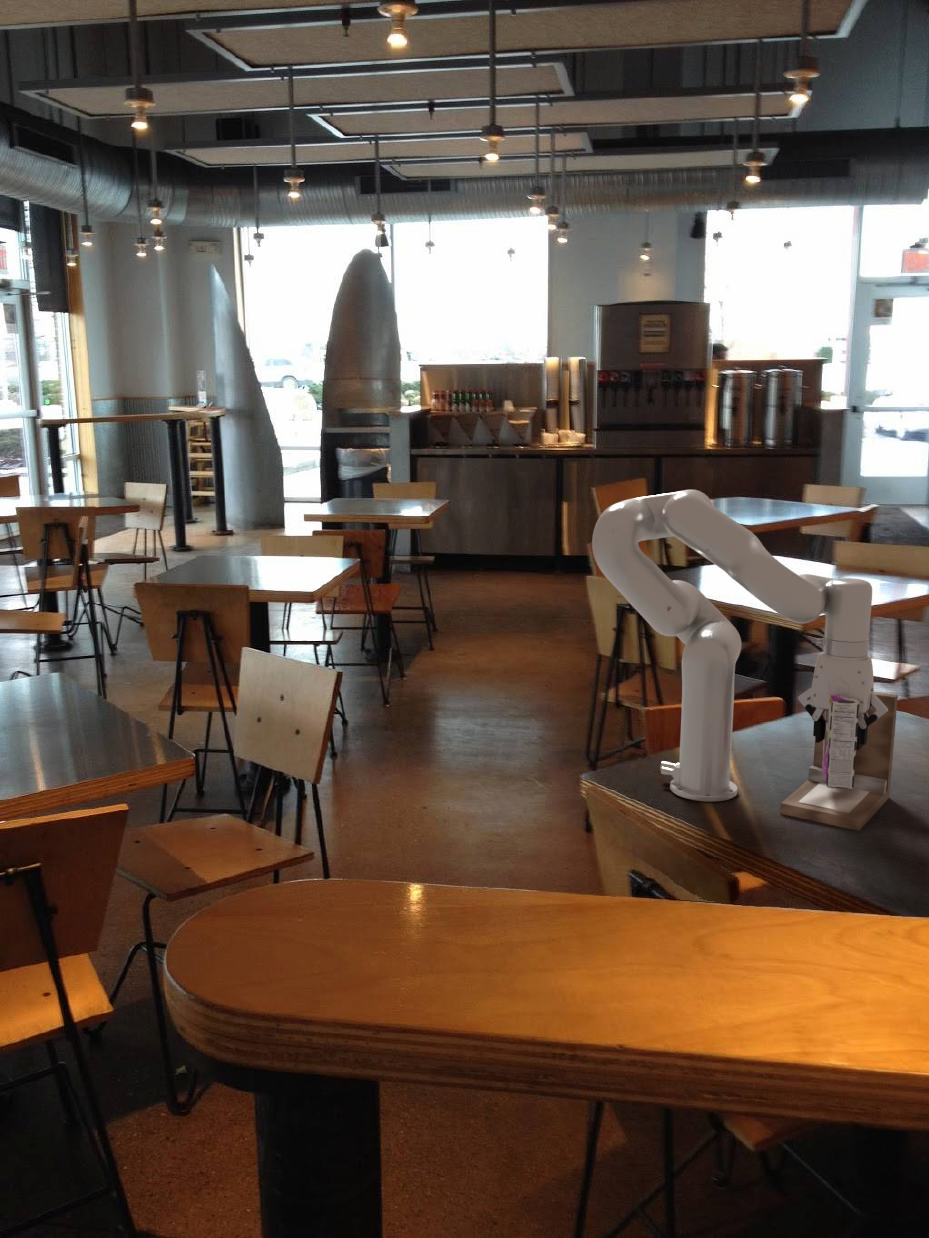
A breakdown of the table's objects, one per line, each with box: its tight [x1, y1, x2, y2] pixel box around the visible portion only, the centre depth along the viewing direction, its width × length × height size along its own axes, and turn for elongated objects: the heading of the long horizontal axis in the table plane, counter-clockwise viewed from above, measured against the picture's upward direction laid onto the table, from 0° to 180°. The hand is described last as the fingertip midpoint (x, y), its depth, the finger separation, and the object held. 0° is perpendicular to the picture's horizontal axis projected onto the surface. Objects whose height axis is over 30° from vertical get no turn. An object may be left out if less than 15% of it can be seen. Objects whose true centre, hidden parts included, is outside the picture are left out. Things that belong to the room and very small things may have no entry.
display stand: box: [779, 691, 899, 832], centre depth 202 cm, size 14×20×20 cm
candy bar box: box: [822, 695, 859, 789], centre depth 201 cm, size 11×5×16 cm, turn 167°
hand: (839, 743), depth 201 cm, fingers closed on candy bar box, 6 cm apart
